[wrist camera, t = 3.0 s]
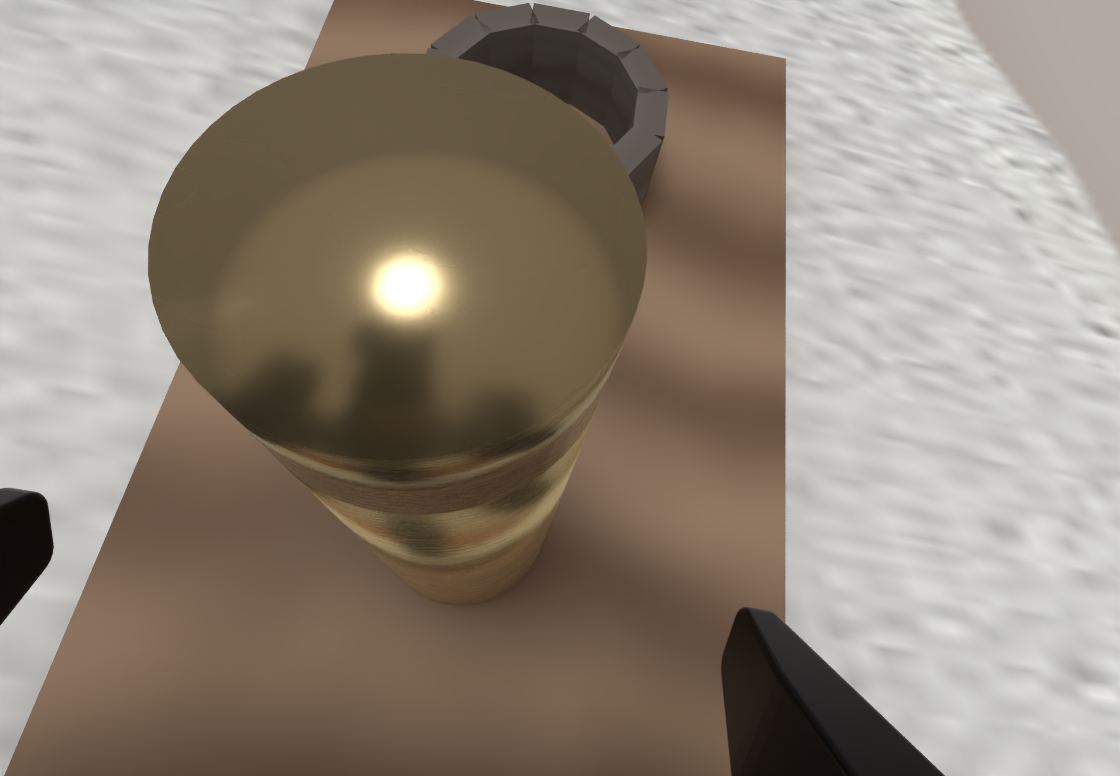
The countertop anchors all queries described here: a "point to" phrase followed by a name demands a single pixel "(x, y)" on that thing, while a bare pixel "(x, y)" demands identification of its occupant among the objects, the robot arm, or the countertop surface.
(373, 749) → the board
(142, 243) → the countertop surface
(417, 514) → the brass fitting
